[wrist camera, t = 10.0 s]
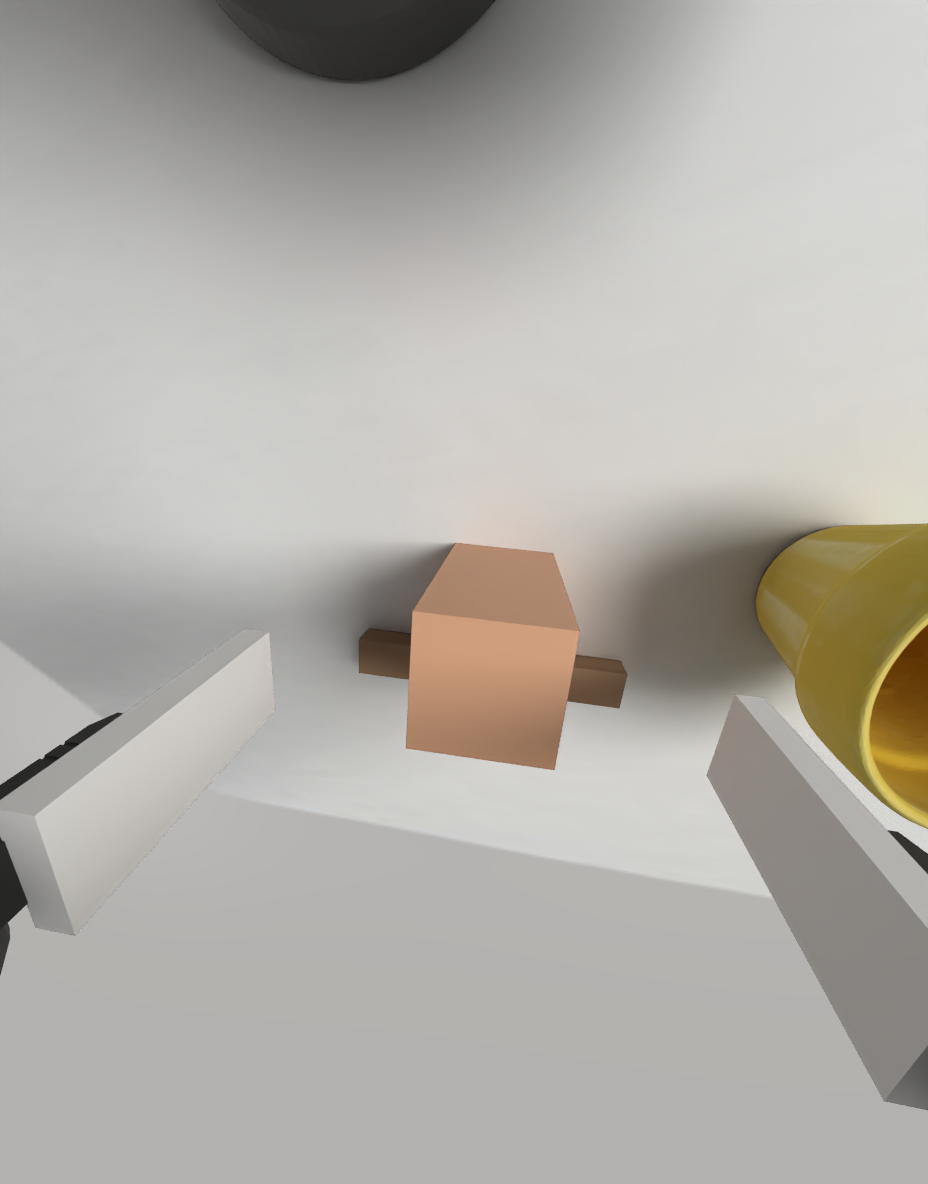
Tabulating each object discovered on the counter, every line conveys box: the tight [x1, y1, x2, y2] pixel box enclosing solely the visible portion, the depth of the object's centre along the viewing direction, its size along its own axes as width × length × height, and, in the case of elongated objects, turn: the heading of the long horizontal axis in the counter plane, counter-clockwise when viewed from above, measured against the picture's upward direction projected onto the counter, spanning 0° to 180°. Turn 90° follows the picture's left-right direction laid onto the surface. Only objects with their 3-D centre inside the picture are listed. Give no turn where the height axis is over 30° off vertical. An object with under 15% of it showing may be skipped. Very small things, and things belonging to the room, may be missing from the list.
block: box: [406, 543, 580, 770], centre depth 19 cm, size 5×5×10 cm
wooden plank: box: [359, 629, 627, 708], centre depth 24 cm, size 2×14×2 cm, turn 85°
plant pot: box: [756, 524, 928, 829], centre depth 17 cm, size 10×10×10 cm
